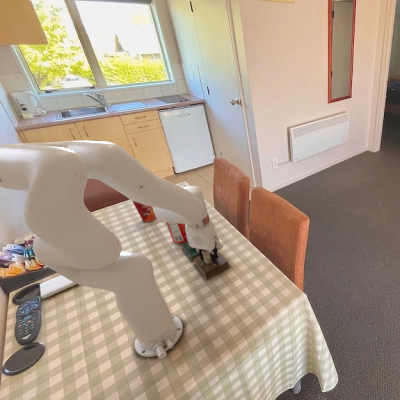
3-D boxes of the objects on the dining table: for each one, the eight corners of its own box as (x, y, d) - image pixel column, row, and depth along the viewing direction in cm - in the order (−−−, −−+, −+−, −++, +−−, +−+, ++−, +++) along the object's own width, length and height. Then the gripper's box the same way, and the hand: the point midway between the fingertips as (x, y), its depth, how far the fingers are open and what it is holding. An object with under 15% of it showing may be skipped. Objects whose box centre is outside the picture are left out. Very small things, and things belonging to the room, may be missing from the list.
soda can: (176, 247, 114) (165, 219, 106) (171, 239, 119) (160, 211, 111) (195, 239, 118) (185, 211, 110) (189, 231, 123) (179, 204, 115)
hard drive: (42, 286, 96) (84, 268, 104) (43, 299, 91) (87, 279, 99) (39, 283, 95) (82, 265, 103) (40, 296, 90) (85, 276, 98)
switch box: (213, 250, 112) (211, 243, 110) (192, 261, 106) (189, 253, 104) (203, 239, 118) (201, 232, 116) (183, 249, 113) (180, 242, 111)
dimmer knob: (217, 257, 104) (214, 246, 101) (211, 264, 100) (208, 253, 98) (208, 255, 105) (205, 245, 102) (202, 262, 101) (199, 252, 99)
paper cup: (152, 223, 130) (142, 198, 122) (137, 223, 130) (125, 198, 122) (161, 214, 136) (151, 190, 129) (146, 214, 136) (136, 190, 129)
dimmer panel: (229, 267, 103) (227, 261, 102) (206, 279, 98) (204, 273, 96) (216, 253, 110) (214, 247, 108) (195, 264, 105) (192, 258, 103)
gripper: (169, 223, 91) (184, 262, 101) (212, 229, 88) (224, 269, 97) (184, 211, 98) (197, 249, 107) (224, 217, 94) (234, 255, 103)
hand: (209, 258), depth 102 cm, fingers closed on dimmer knob, 4 cm apart
